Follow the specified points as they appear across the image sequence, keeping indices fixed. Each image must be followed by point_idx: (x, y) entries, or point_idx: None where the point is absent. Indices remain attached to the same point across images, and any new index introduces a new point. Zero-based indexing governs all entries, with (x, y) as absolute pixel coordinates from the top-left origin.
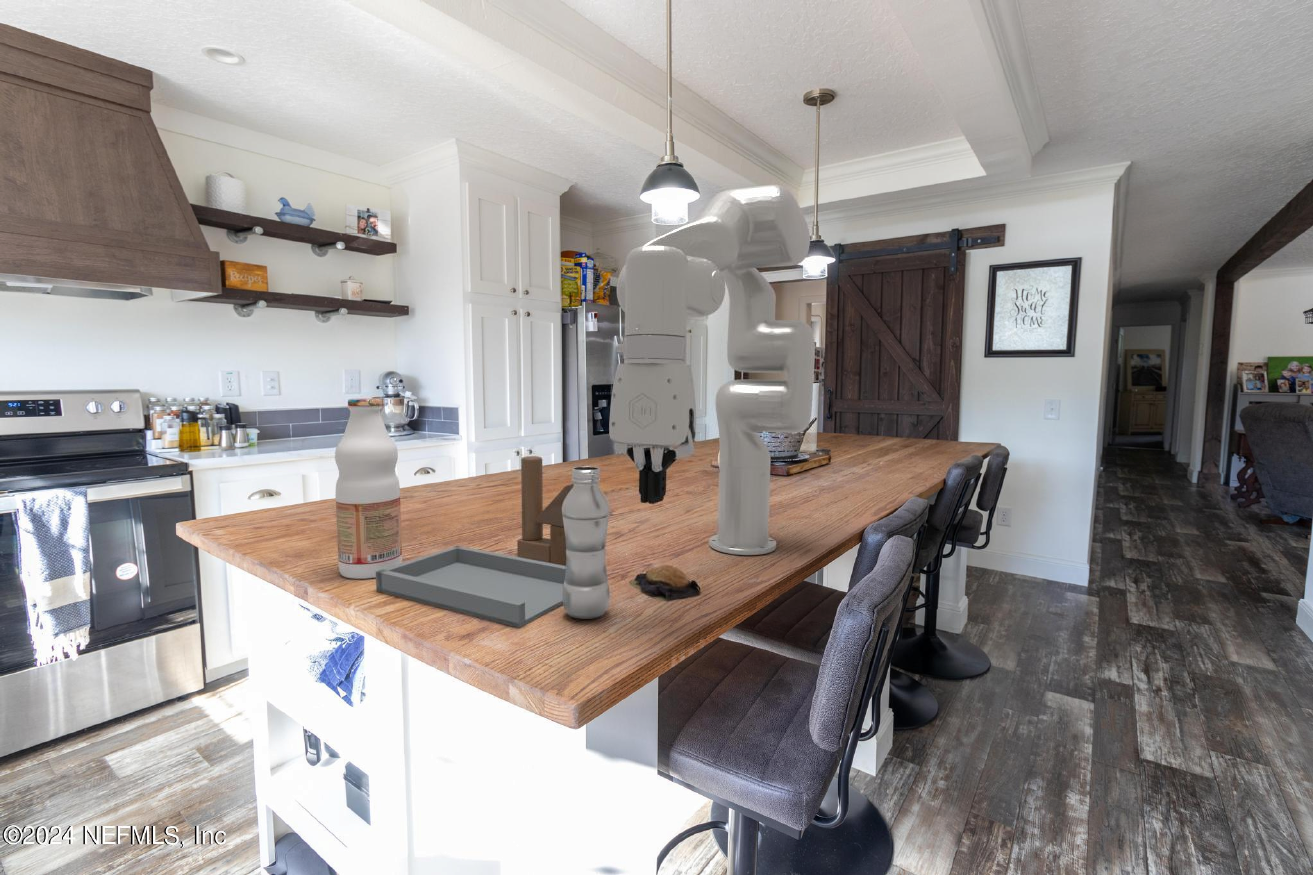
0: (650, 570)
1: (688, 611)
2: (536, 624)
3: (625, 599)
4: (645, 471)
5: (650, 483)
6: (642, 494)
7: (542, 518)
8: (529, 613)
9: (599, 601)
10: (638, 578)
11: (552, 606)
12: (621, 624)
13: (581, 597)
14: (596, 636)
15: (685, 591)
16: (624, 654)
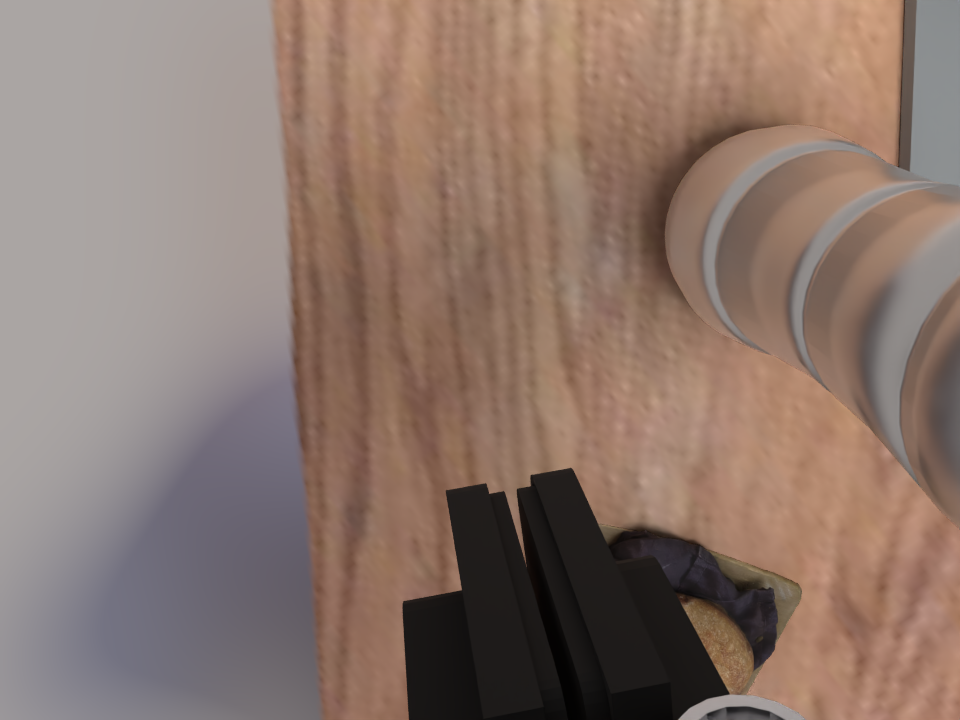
0: (729, 650)
1: (430, 504)
2: (867, 15)
3: (707, 445)
4: (610, 707)
5: (485, 601)
6: (566, 507)
7: None
8: (945, 47)
9: (682, 211)
10: (762, 604)
11: None
12: (570, 242)
13: (753, 149)
14: (581, 84)
15: None
16: (380, 20)
